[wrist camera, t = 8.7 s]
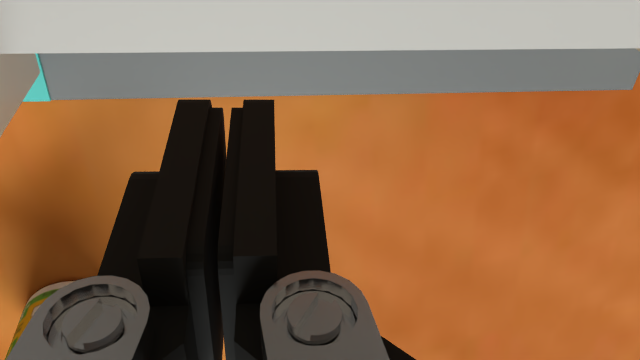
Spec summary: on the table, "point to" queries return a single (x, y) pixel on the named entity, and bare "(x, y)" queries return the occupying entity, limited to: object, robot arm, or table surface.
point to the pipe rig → (321, 46)
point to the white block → (15, 83)
